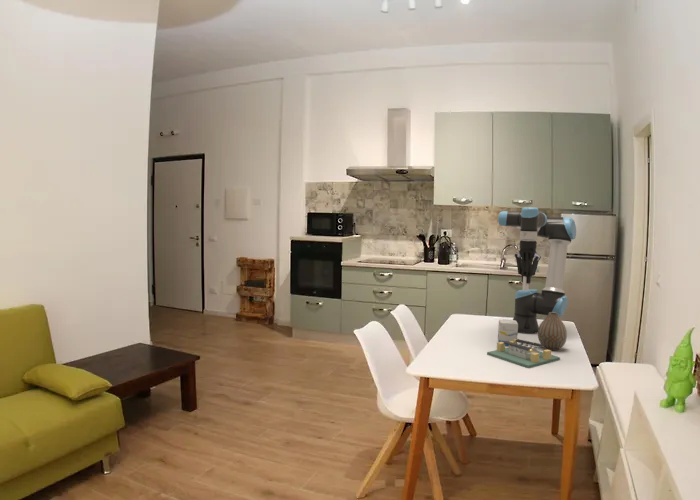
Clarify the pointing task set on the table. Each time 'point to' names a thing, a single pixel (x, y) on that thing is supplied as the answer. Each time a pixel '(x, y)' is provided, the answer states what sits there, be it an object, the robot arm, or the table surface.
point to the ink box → (507, 330)
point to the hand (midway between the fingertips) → (525, 289)
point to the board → (521, 360)
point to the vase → (552, 332)
